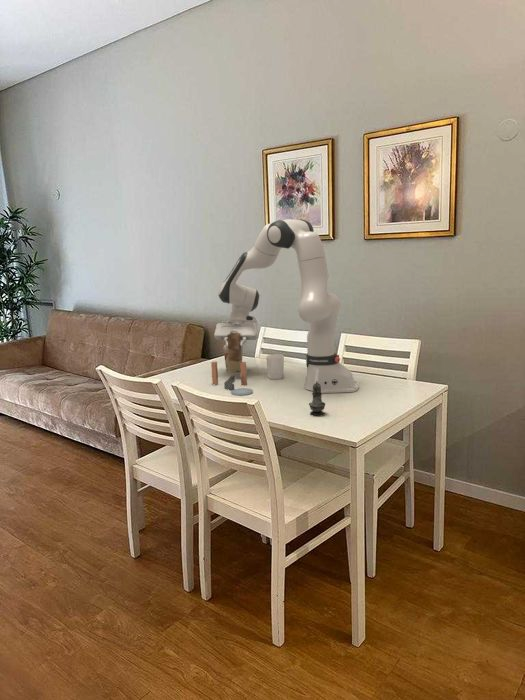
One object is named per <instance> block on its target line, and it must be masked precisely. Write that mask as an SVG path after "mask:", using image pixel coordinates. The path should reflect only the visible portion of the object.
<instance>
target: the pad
mask: <svg viewBox="0 0 525 700" xmlns="http://www.w3.org/2000/svg"><path fill="white" fill-rule="evenodd" d="M253 393H254V389H251V388H248V387H241V388H240V387H239V388H234V390H232V391H231V390H230V394H231V395H233V396H236V397H237V396H238V397H239V396H240V397H244V396H249V395H252V394H253Z"/></svg>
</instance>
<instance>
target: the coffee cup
mask: <svg viewBox="0 0 525 700" xmlns="http://www.w3.org/2000/svg"><path fill="white" fill-rule="evenodd" d="M243 348H244V346H243V347H241V354H242V355H243ZM223 355H224V362H225V369H226V370H225V371H226V372H228V371H230V372H229V373H236V372H235V371H238V372H241V371H240V370H241V367H240V363H241V362H243V358H242V359H241V360H240V361H239V362H237V361H229V357H228V347H226V344H225V345H223Z"/></svg>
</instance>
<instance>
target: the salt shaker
mask: <svg viewBox="0 0 525 700" xmlns="http://www.w3.org/2000/svg"><path fill="white" fill-rule="evenodd" d="M311 395H312V400H311V402H309V403H308V406H309V408H310V410H311V412H310V413H309V415H310V416H312V415H313V417H321V415H322V416H324V415H325V414H326V413H325V411H324V409H325V408H326V407H325V406H326V402H324V401H323V400H322V395H323V393H321V385H320V384H318V383H317V381H316V383H315V384H314V385H313V391H312V393H311Z"/></svg>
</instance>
